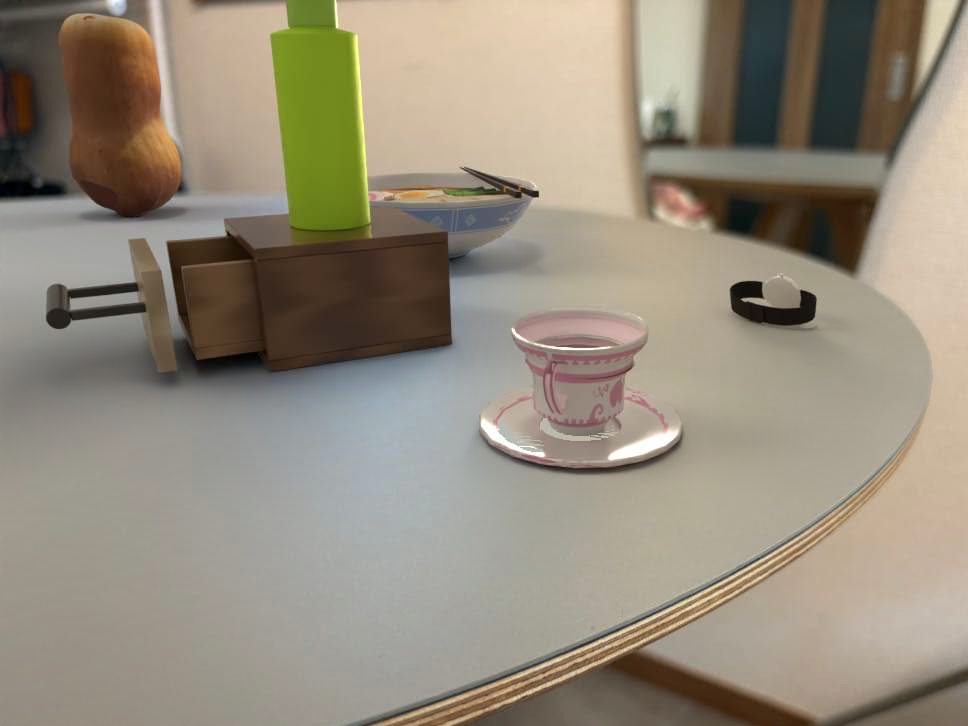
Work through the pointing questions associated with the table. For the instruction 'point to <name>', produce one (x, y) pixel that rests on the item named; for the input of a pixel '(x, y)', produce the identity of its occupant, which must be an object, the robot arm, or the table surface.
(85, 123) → the butternut squash
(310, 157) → the soap dispenser
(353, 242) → the cabinet
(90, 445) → the table surface
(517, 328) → the teacup
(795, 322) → the watch
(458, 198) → the ramen bowl
